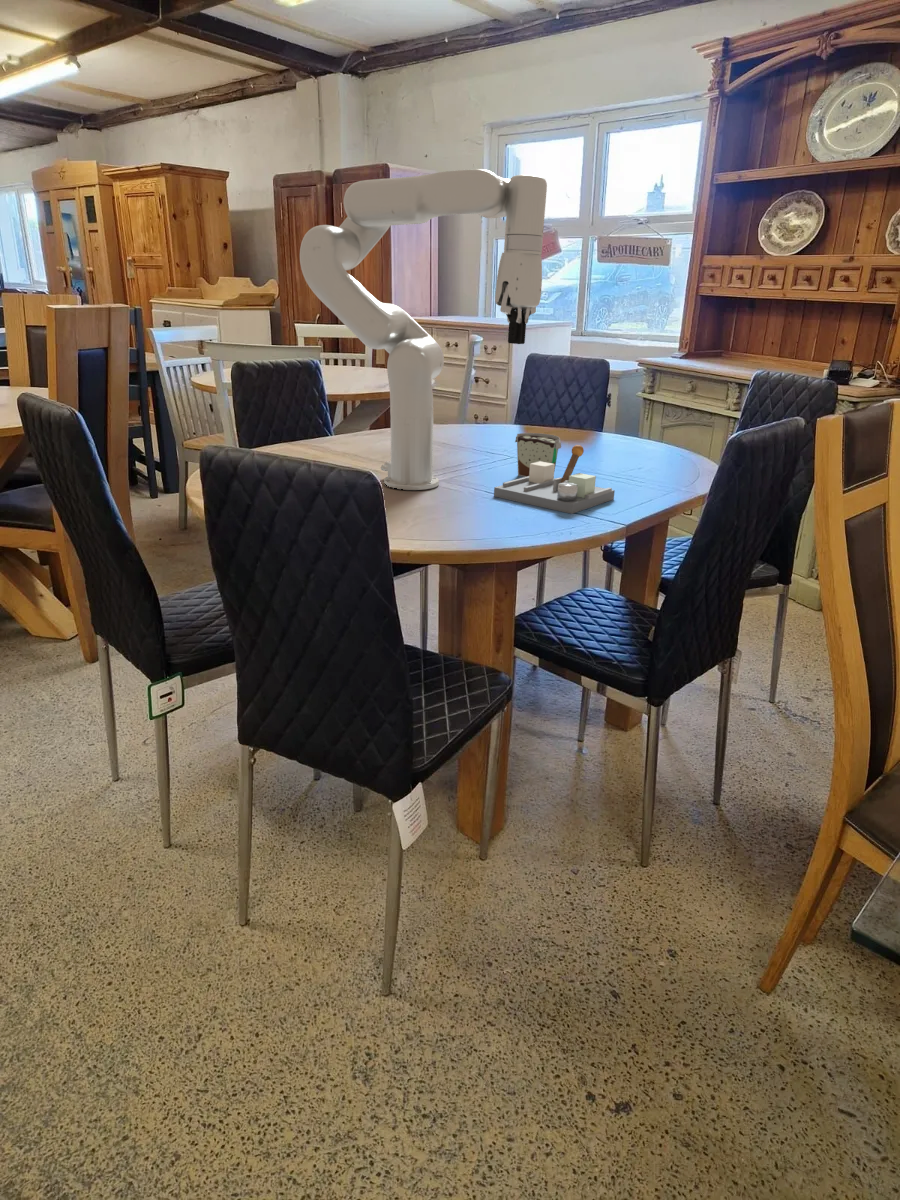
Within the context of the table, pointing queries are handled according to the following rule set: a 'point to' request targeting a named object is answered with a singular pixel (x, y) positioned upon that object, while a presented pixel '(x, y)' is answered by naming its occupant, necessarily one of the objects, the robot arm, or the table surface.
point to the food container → (535, 450)
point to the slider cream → (541, 472)
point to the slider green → (583, 483)
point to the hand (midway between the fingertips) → (516, 343)
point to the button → (567, 492)
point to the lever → (572, 462)
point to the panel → (550, 495)
